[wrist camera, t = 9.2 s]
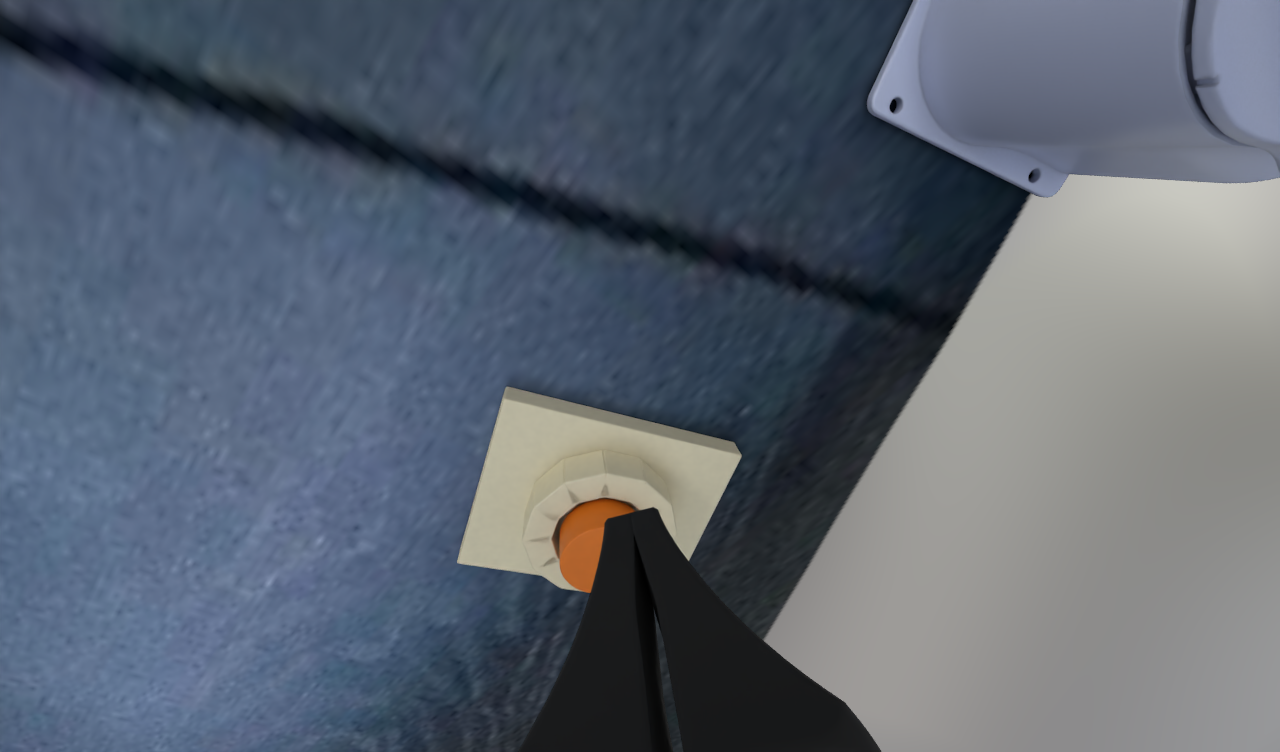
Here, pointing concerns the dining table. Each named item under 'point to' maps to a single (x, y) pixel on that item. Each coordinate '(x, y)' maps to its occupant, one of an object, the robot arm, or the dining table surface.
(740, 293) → the dining table surface
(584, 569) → the orange button
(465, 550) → the button block
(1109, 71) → the robot arm
